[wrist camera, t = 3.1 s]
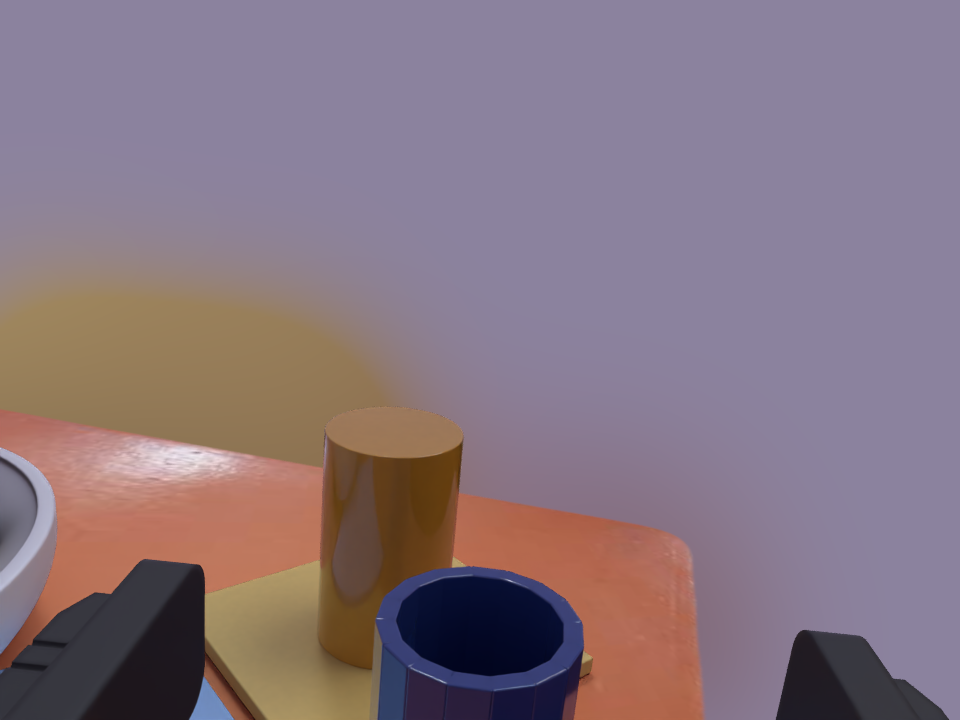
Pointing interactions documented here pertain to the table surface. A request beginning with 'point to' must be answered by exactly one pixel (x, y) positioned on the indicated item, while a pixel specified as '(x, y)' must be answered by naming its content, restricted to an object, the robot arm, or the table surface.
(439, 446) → the glossy amber cylinder
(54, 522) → the bowl
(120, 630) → the robot arm
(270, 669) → the mustard mat
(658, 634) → the table surface
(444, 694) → the navy cup
